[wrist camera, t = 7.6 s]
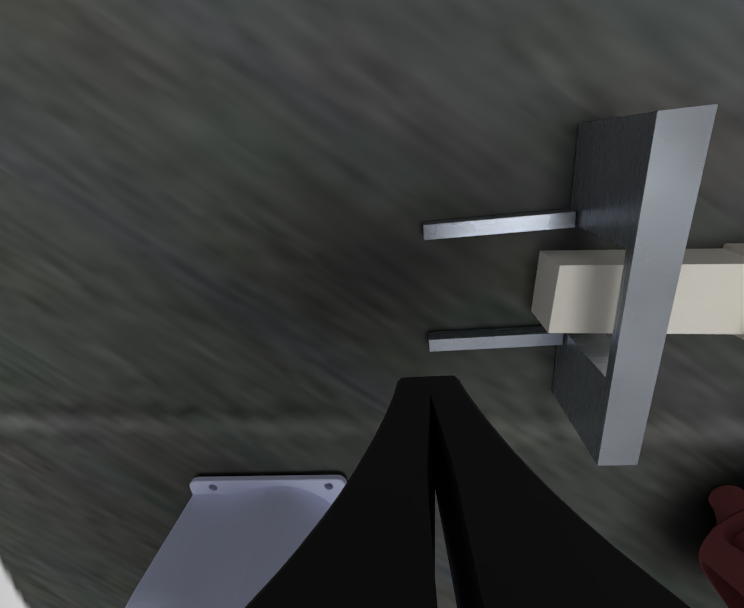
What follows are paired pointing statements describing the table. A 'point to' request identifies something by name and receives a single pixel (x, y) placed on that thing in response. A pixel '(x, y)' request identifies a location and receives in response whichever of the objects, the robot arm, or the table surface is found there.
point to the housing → (639, 276)
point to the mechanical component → (726, 545)
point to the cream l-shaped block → (602, 284)
